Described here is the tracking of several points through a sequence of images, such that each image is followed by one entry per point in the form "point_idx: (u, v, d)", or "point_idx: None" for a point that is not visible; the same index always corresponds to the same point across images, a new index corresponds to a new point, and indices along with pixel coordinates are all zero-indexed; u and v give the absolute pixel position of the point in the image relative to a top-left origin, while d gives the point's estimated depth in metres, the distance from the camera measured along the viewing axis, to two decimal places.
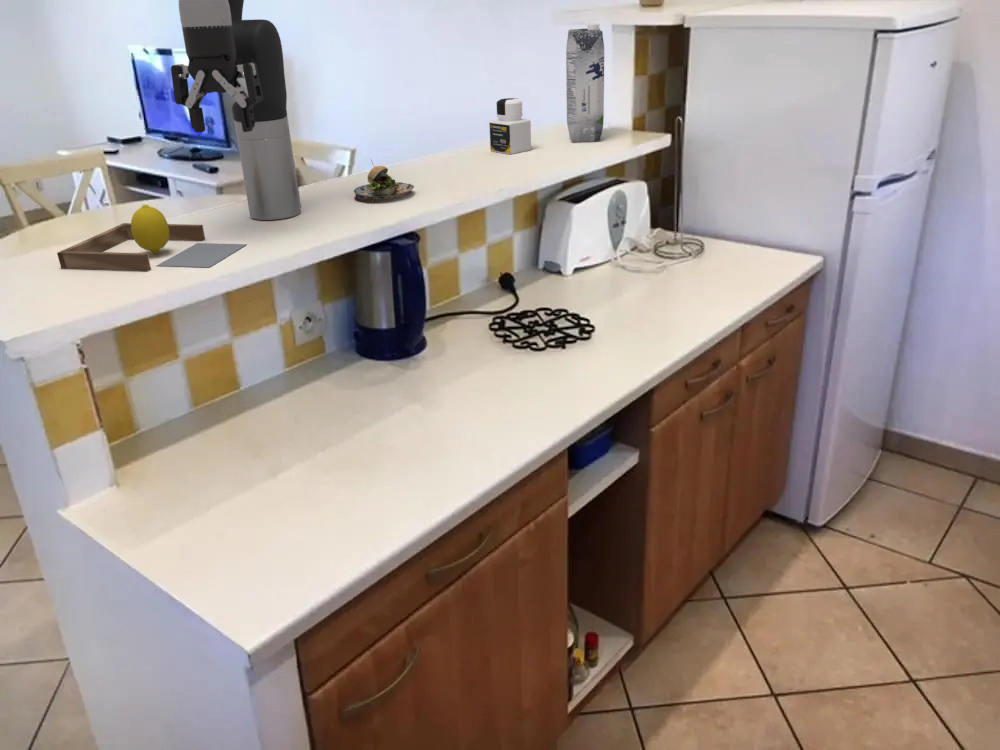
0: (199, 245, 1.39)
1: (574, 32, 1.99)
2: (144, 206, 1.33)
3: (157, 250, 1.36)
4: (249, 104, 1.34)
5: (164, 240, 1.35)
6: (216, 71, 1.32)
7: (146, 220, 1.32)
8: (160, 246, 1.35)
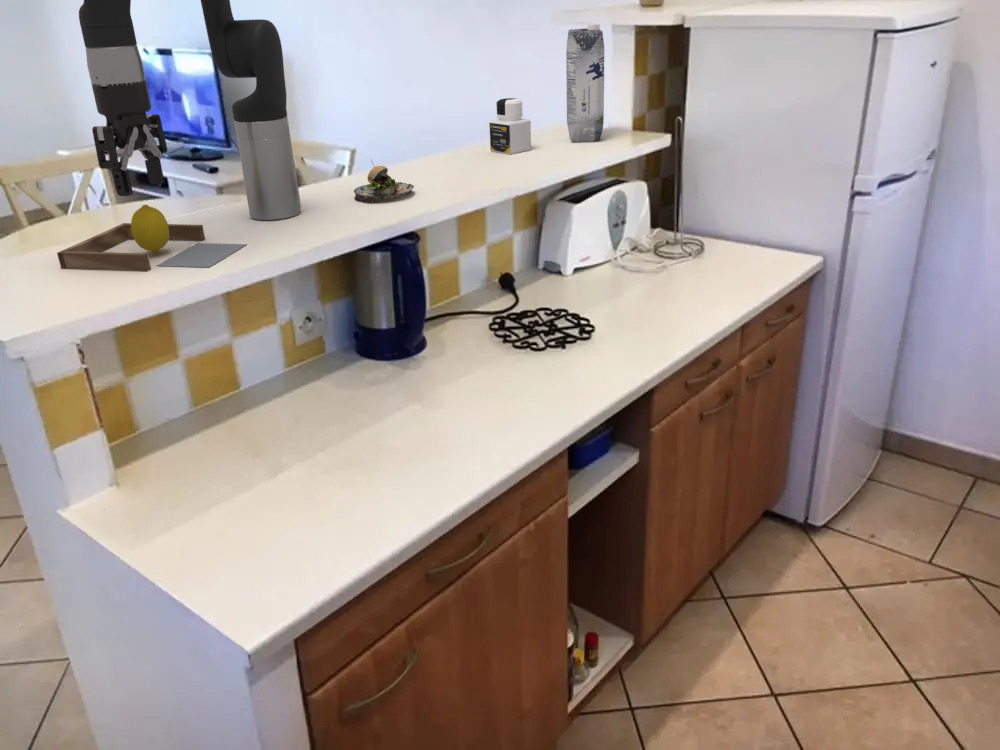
0: (199, 245, 1.39)
1: (574, 32, 1.99)
2: (144, 206, 1.33)
3: (157, 250, 1.36)
4: None
5: (164, 240, 1.35)
6: (145, 125, 1.29)
7: (146, 220, 1.32)
8: (160, 246, 1.35)
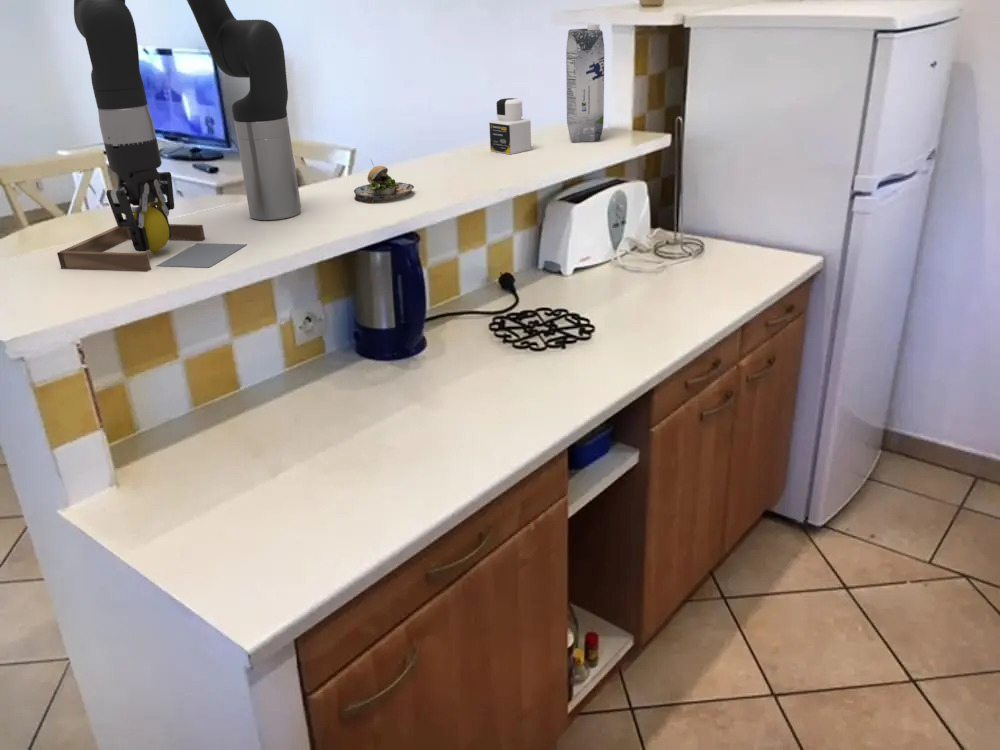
0: (199, 245, 1.39)
1: (574, 32, 1.99)
2: None
3: (157, 250, 1.36)
4: None
5: (164, 240, 1.35)
6: (156, 180, 1.32)
7: (146, 220, 1.32)
8: (160, 246, 1.35)
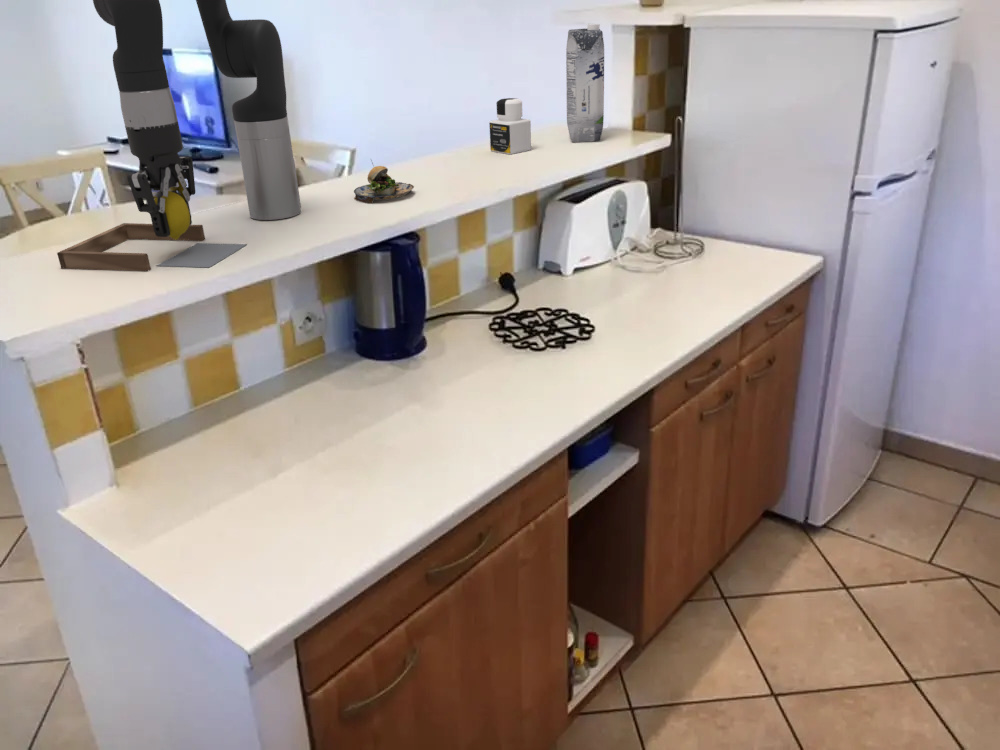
0: (199, 245, 1.39)
1: (574, 32, 1.99)
2: None
3: (178, 236, 1.34)
4: None
5: (185, 226, 1.33)
6: (177, 165, 1.31)
7: (167, 205, 1.30)
8: (181, 231, 1.33)
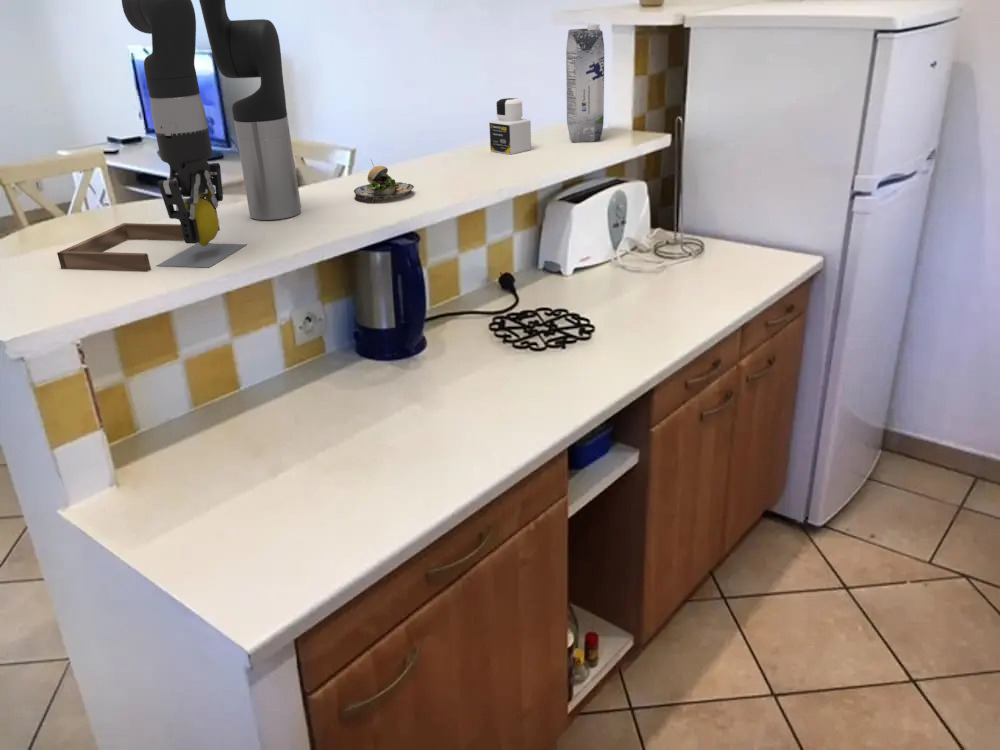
0: (199, 245, 1.39)
1: (574, 32, 1.99)
2: None
3: (206, 242, 1.33)
4: None
5: (214, 232, 1.32)
6: (207, 171, 1.30)
7: (196, 212, 1.29)
8: (210, 238, 1.32)
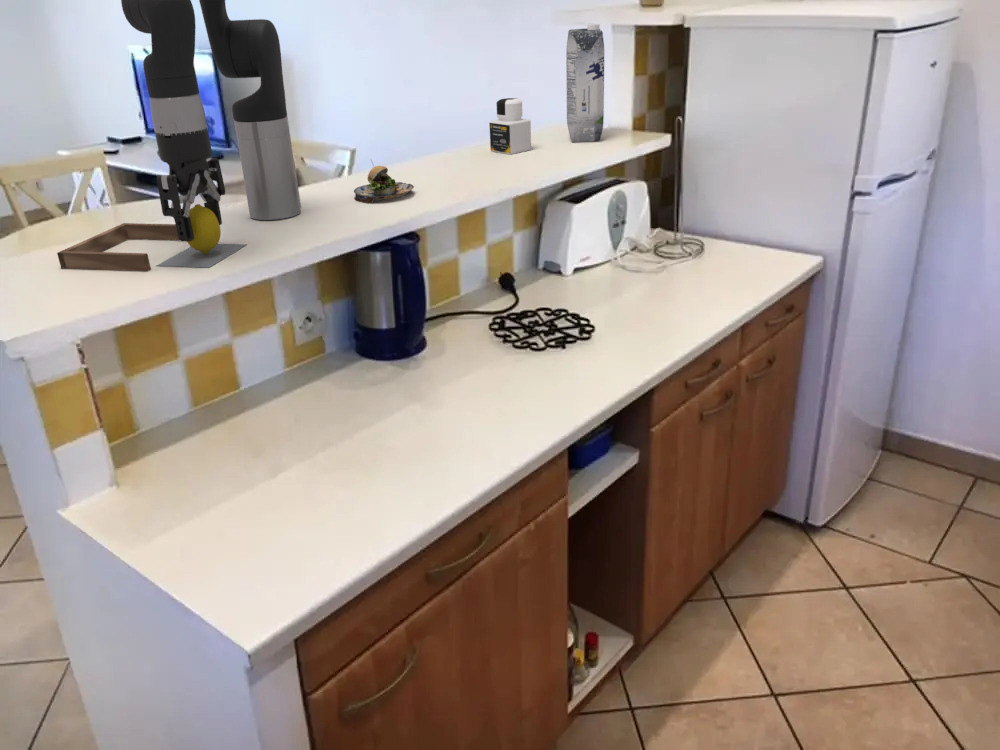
0: None
1: (574, 32, 1.99)
2: (197, 206, 1.31)
3: (208, 250, 1.34)
4: None
5: (216, 241, 1.33)
6: (206, 171, 1.30)
7: (199, 220, 1.30)
8: (212, 246, 1.33)
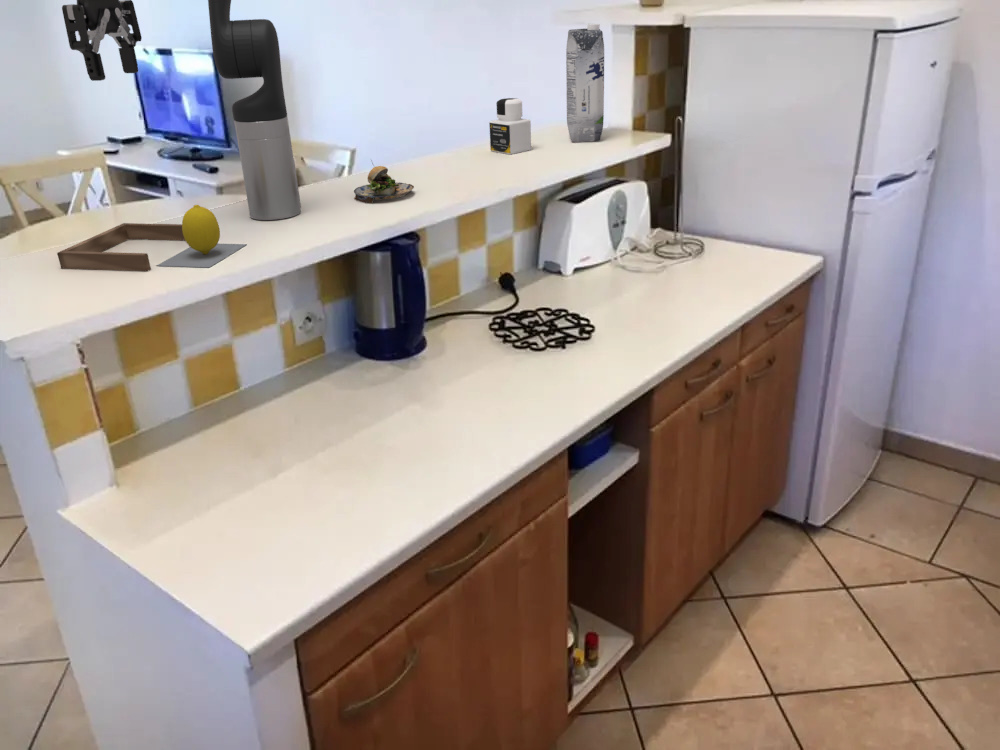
0: None
1: (574, 32, 1.99)
2: (195, 206, 1.31)
3: (208, 251, 1.34)
4: None
5: (215, 241, 1.33)
6: (117, 9, 1.26)
7: (197, 220, 1.30)
8: (211, 246, 1.33)
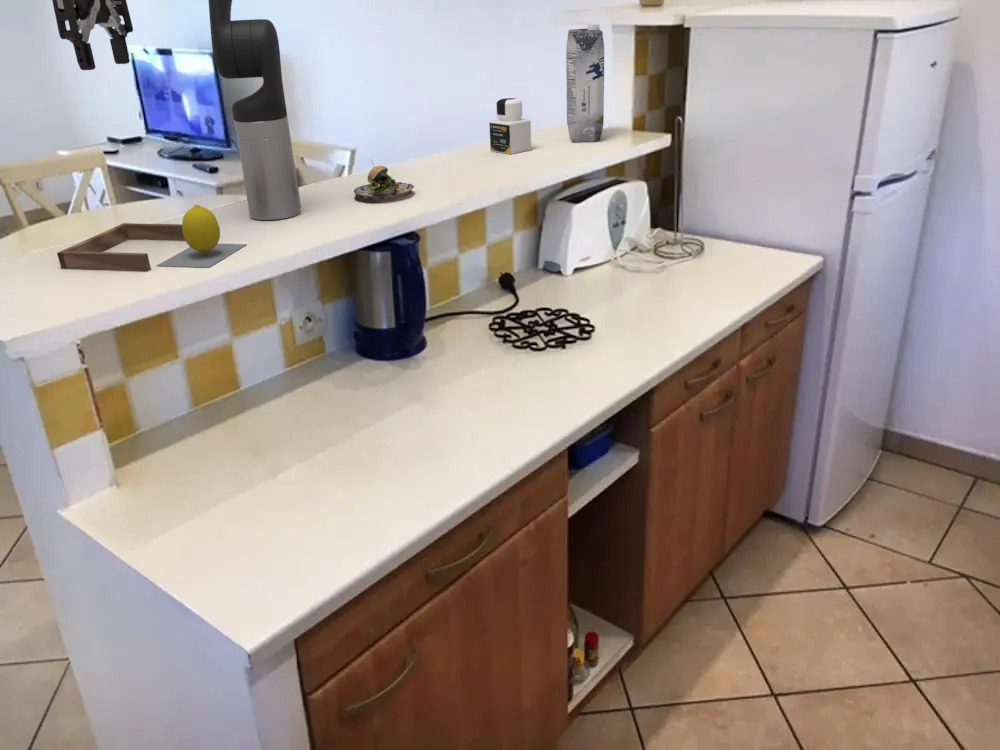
0: None
1: (574, 32, 1.99)
2: (196, 206, 1.31)
3: (208, 251, 1.34)
4: None
5: (215, 241, 1.33)
6: None
7: (198, 220, 1.30)
8: (211, 246, 1.33)
